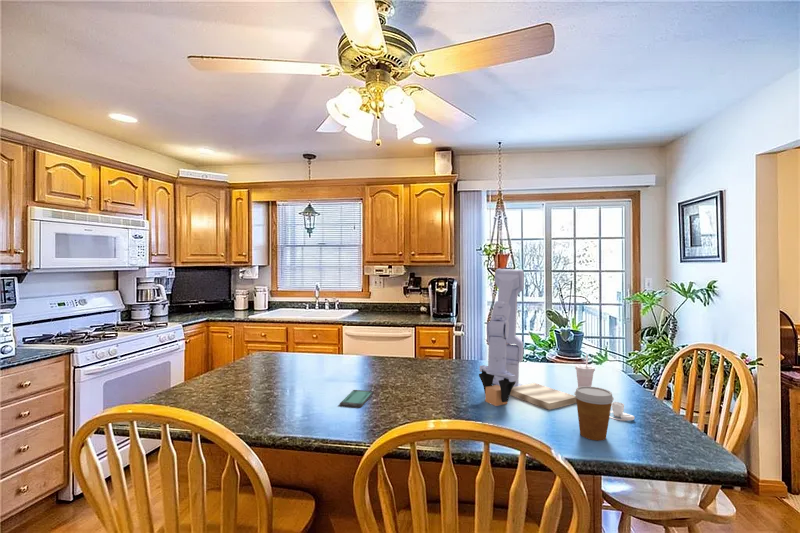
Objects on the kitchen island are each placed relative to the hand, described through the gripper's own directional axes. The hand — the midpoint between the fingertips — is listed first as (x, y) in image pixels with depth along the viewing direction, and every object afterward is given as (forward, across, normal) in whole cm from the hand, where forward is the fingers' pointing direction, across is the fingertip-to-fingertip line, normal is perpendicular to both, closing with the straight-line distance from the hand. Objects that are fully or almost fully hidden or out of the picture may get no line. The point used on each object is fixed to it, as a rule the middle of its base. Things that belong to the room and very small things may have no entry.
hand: (496, 398), depth 135 cm
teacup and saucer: (+2, +27, +22) cm, 35 cm away
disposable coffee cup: (+2, +32, +4) cm, 32 cm away
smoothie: (+2, +8, +35) cm, 36 cm away
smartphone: (+2, -24, -39) cm, 46 cm away
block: (+2, 0, 0) cm, 2 cm away
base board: (+1, +4, +17) cm, 18 cm away
